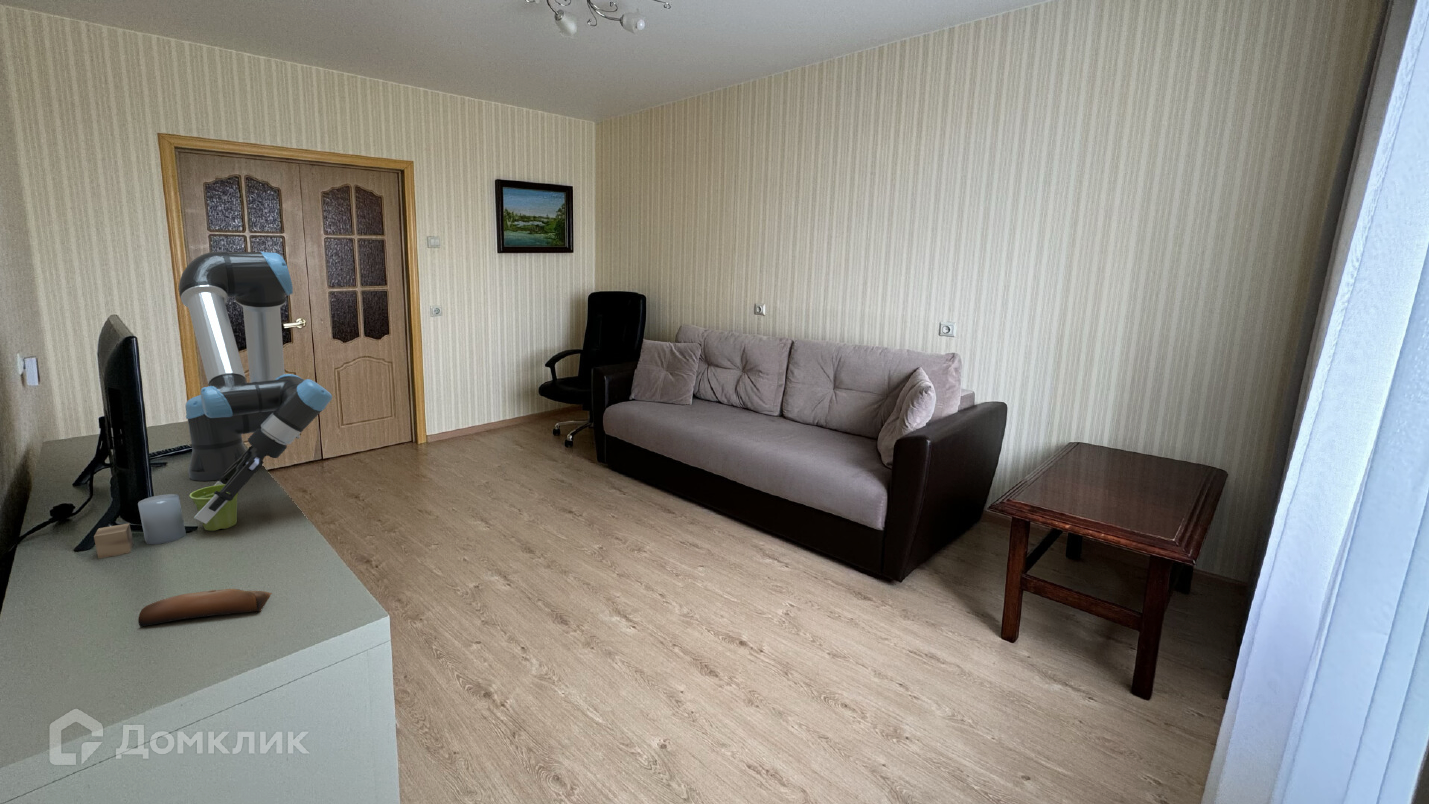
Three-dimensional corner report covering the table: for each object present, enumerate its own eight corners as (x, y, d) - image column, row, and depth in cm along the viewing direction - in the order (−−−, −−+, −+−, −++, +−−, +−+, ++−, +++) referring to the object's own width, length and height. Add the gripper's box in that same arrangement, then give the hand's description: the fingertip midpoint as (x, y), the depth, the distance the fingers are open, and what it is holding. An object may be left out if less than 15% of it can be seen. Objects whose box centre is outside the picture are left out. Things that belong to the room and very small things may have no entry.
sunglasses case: (276, 590, 125) (264, 570, 120) (267, 624, 120) (255, 605, 115) (163, 603, 120) (147, 583, 115) (149, 639, 115) (132, 620, 110)
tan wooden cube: (103, 550, 141) (98, 528, 140) (133, 544, 144) (129, 523, 143) (98, 558, 137) (93, 536, 136) (130, 553, 140) (125, 531, 139)
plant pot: (255, 519, 158) (249, 484, 156) (223, 535, 149) (216, 499, 147) (219, 517, 159) (213, 483, 157) (185, 533, 150) (178, 497, 148)
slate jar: (147, 535, 149) (140, 498, 147) (186, 528, 152) (180, 492, 150) (143, 547, 143) (135, 508, 141) (184, 539, 147) (177, 501, 145)
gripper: (291, 457, 150) (215, 538, 145) (286, 435, 168) (219, 506, 162) (259, 438, 146) (180, 520, 141) (258, 417, 164) (188, 490, 158)
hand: (201, 513), depth 151 cm, fingers closed on plant pot, 9 cm apart
